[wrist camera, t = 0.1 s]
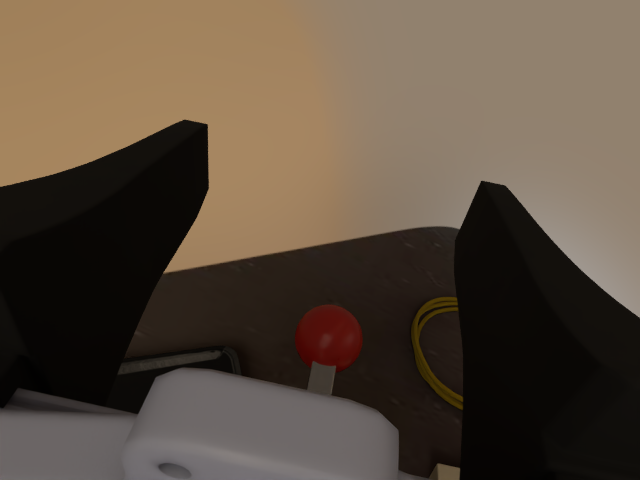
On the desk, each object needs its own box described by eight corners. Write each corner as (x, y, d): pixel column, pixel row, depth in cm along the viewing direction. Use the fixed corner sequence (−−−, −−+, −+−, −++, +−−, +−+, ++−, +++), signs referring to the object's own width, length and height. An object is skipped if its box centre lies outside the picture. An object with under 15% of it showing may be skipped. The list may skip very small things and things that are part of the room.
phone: (-16, 378, 29) (234, 343, 34) (-11, 389, 30) (234, 353, 34) (-51, 513, 23) (257, 448, 28) (-44, 524, 24) (256, 458, 29)
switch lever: (300, 315, 25) (305, 286, 22) (360, 328, 25) (372, 300, 22) (235, 597, 18) (231, 602, 16) (318, 617, 18) (327, 624, 16)
